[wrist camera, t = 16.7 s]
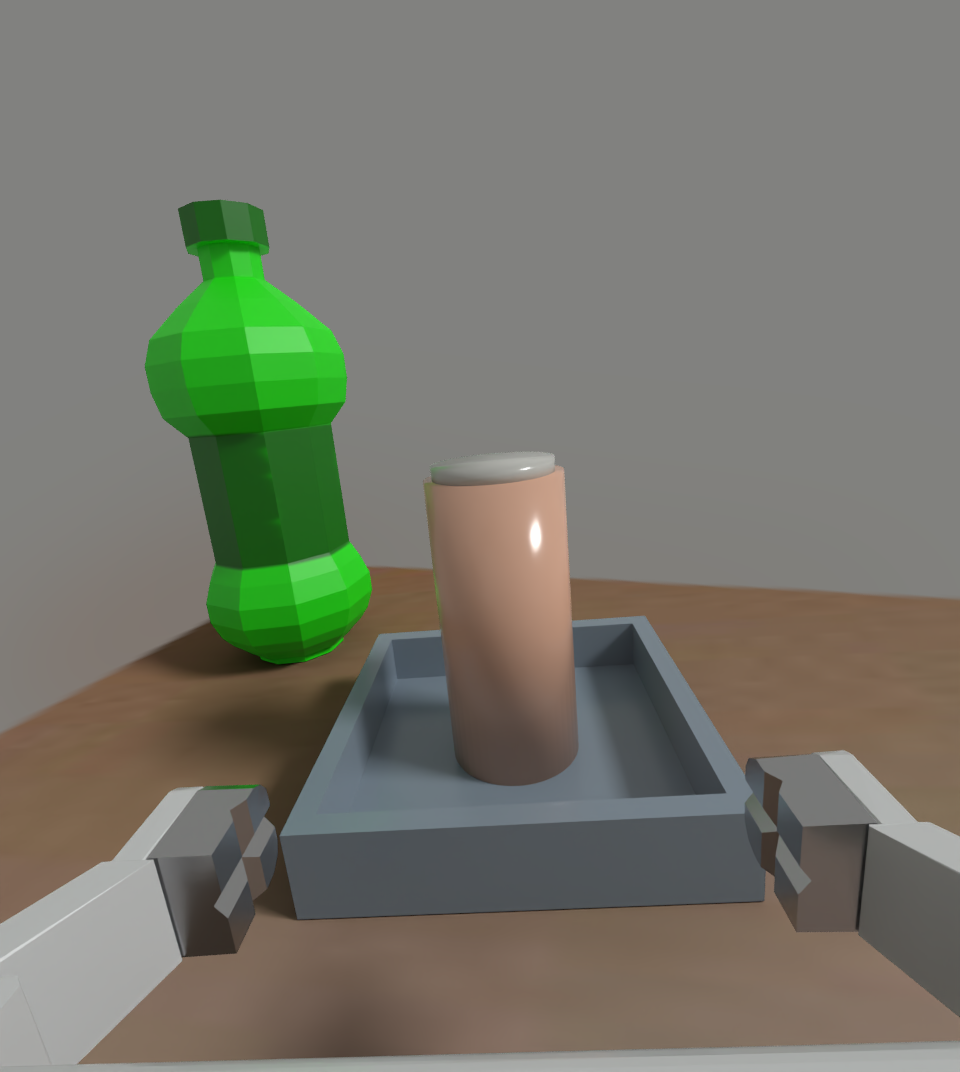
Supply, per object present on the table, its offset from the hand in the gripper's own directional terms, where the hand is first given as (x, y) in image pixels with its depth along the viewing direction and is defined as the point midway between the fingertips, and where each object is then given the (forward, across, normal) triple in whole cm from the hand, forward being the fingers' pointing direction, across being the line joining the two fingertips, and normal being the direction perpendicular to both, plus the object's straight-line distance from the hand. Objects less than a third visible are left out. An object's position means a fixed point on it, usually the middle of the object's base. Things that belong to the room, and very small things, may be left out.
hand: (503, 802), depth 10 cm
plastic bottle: (+25, +14, +8) cm, 29 cm away
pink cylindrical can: (+12, 0, +7) cm, 14 cm away
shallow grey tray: (+12, 0, +8) cm, 14 cm away
